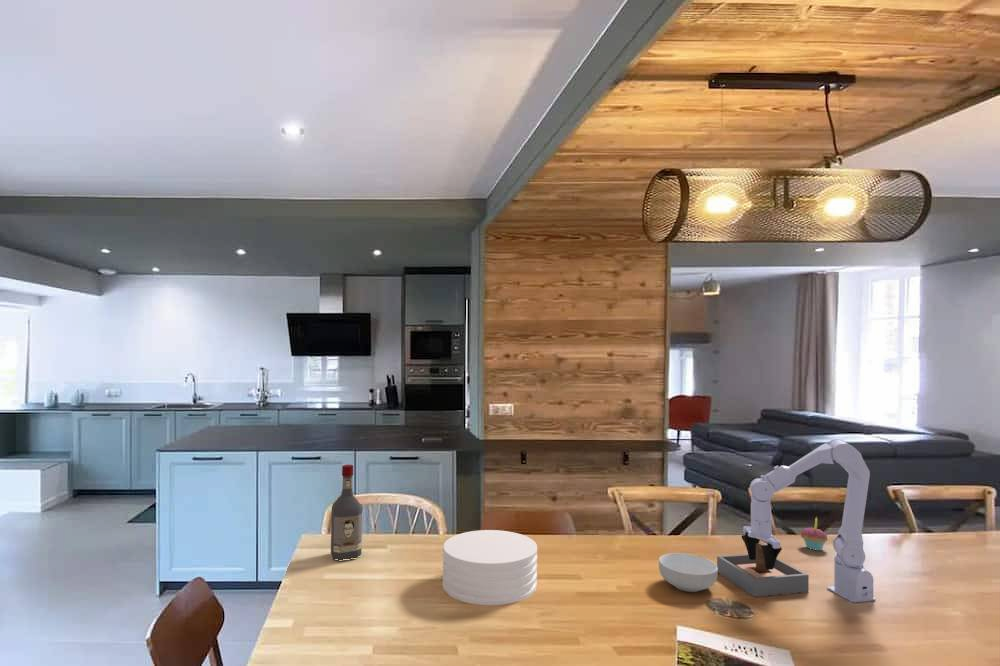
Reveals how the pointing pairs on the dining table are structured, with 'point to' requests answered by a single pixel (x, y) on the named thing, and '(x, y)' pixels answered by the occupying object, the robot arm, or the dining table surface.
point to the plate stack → (490, 567)
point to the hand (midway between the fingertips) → (761, 564)
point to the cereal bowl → (688, 571)
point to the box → (762, 576)
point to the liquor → (346, 521)
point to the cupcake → (814, 537)
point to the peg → (760, 559)
